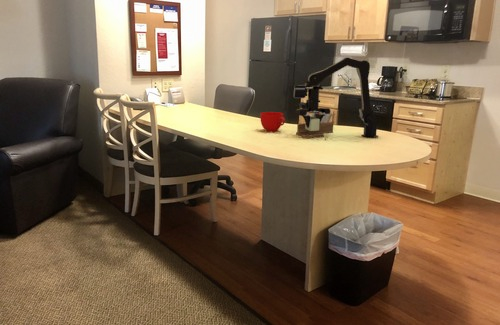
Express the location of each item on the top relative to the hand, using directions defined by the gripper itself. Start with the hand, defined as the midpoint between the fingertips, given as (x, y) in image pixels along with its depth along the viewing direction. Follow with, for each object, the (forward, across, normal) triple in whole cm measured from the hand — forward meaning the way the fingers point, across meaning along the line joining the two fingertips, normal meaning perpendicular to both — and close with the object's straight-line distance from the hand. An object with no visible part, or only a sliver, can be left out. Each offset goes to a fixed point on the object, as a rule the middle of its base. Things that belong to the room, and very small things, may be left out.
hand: (312, 127), depth 209 cm
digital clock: (+5, -16, -17) cm, 24 cm away
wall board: (+5, -5, 0) cm, 7 cm away
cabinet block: (+1, 0, 0) cm, 1 cm away
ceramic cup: (+5, +13, -20) cm, 24 cm away
